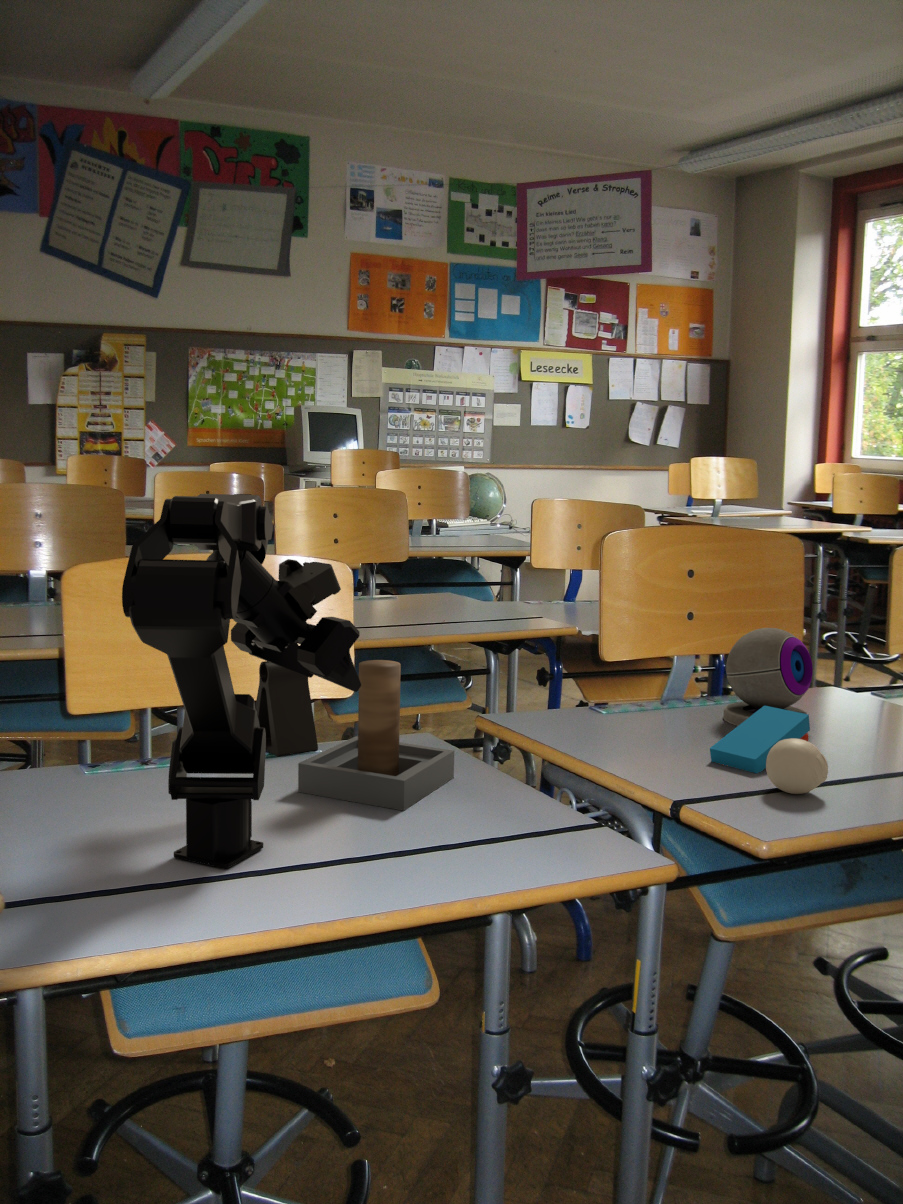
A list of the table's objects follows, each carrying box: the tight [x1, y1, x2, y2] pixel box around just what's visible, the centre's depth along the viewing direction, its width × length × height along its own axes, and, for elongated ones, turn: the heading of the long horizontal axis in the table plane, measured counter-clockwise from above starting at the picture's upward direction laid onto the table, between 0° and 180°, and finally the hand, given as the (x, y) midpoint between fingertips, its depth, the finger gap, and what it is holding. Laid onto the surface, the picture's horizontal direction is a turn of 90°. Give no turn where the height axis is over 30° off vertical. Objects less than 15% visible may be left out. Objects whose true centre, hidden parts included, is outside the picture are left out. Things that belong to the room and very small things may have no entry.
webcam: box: [723, 627, 814, 727], centre depth 161 cm, size 13×13×15 cm
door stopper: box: [255, 660, 319, 757], centre depth 139 cm, size 9×6×12 cm, turn 35°
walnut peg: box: [357, 659, 402, 776], centre depth 123 cm, size 5×5×15 cm
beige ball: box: [765, 738, 829, 795], centre depth 125 cm, size 7×7×7 cm
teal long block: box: [709, 706, 811, 774], centre depth 142 cm, size 7×7×18 cm
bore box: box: [297, 735, 455, 812], centre depth 124 cm, size 14×14×4 cm
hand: (335, 681), depth 118 cm, fingers open, 9 cm apart
